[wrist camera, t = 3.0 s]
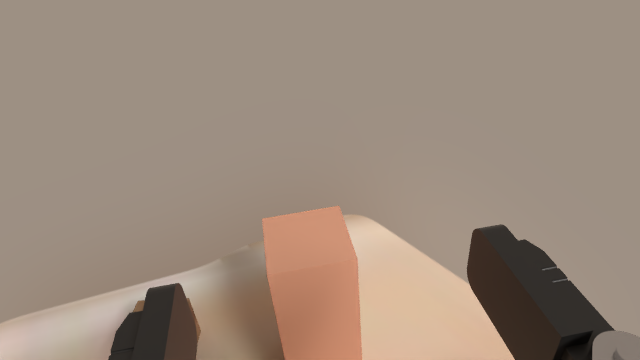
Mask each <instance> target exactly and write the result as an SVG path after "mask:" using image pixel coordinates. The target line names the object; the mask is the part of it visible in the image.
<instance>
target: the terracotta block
mask: <svg viewBox="0 0 640 360" xmlns="http://www.w3.org/2000/svg"><path fill="white" fill-rule="evenodd" d="M262 222H263V234H264V246H265V258H266V269H267V278H268V282H269V287H270V292H271V296H272V301H273V306H274V310H275V315H276V320H277V325H278V329H279V334H280V339H281V343H282V348H283V353H284V357H285V360H362V347H361V326H360V304H359V283H358V261H357V256H356V253H355V250H354V248H353V245H352V242H351V239H350V236H349V233H348V230H347V227H346V224H345V221H344V219H343V216H342V213H341V210H340V207H339V206H335V207H329V208H323V209H317V210H311V211H305V212H299V213H293V214H287V215H281V216H275V217H270V218H263V219H262Z"/></svg>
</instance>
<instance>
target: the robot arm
mask: <svg viewBox="0 0 640 360" xmlns="http://www.w3.org/2000/svg"><path fill="white" fill-rule="evenodd" d="M467 275H468V280H469V284H470V286H471V288H472V290H473V292H474V294H475V295H476V297H477V299H478V300H479V302H480V303H481V305H482V307H483V308H484V310H485V312H486V313H487V315H488V316H489V318H490V320H491V321H492V323H493V325H494V326H495V328H496V329H497V331H498V333H499V334H500V336H501V338H502V339H503V341H504V342H505V344H506V346H507V347H508V349H509V351H510V352H511V354H512V355H513V357H514V359H515V360H640V337H638V336H636V335H633V334H630V333H626V332H622V331H615V330H614V329H613V328H612V327H611V326H610V325H609V324H608V323H607V321H606V320H605V319H604V318H603V317H602V316H601V315H600V314H599V312H598V311H597V310H596V309H595V308H594V307H593V306H592V305H591V303H590V302H589V301H588V300H587V299H586V298H585V297H584V296H583V295H582V293H581V292H580V291H579V290H578V289H577V288H576V287H575V286H574V284H572V282H571V281H568V279H567V277H566V275H565V274H564V273H563V272H562V271H561V270H560V269H559V268H557V266H556V264H555V263H554V262H553V261H552V260H551V259H550V258H549V256H548V255H547V254H546V253H545V252H544V251H543V250H541V249H540V248H538V247H537V246H535V245H533V244H531V243H530V242H528V241H527V240H520V241H518V240H517V239H516V238H515V237H514V235H513V234H512V233H511V232H510V231H509V230H508V228H507V227H506V226H504V225H495V226H490V227H484V228H479V229H475V230H474V231H473V233H472V239H471V245H470V252H469V259H468V265H467ZM196 352H197V330H196V324H195V320H194V318H193V315H192V312H191V310H190V307H189V304H188V302H187V299H186V296H185V294H184V291H183V288H182V286H181V285H180V284H179V283H176V284H171V285H165V286H159V287H154V288H149V289H148V291H147V294H146V298H145V302H144V307H143V311H138V312H132V313H129V314H128V316H127V317H126V319H125V320H124V321H123V323H122V324H121V326H120V327H119V328H118V330H117V331H116V334H115V338H114V341H113V345H112V348H111V355H110V356H109V359H108V360H196Z"/></svg>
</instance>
